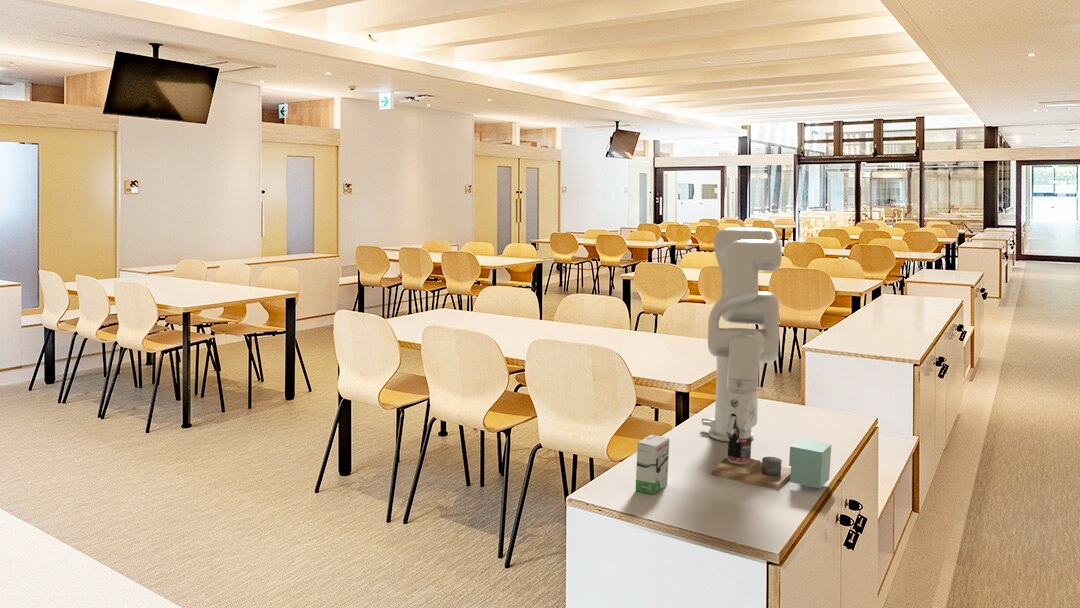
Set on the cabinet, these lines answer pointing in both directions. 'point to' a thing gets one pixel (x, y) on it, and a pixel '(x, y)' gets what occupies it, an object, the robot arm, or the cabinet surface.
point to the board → (755, 471)
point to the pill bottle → (743, 448)
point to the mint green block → (810, 463)
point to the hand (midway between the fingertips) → (739, 452)
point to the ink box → (652, 464)
